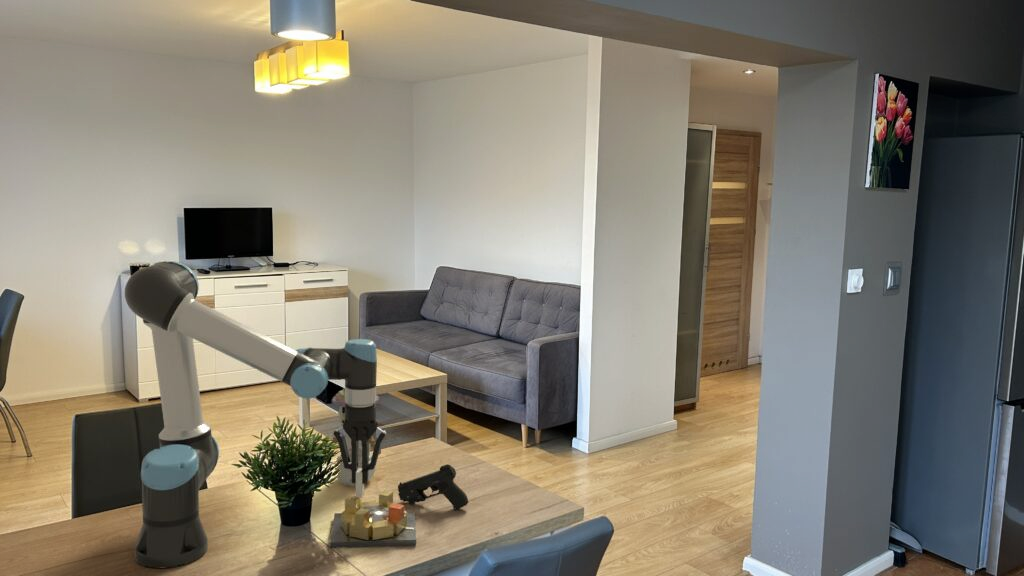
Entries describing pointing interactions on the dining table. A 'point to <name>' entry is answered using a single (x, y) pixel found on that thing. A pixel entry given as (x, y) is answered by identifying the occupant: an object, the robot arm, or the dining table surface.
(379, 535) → the ring nut
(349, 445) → the toy
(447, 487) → the handgun
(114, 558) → the dining table surface
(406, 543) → the base plate
